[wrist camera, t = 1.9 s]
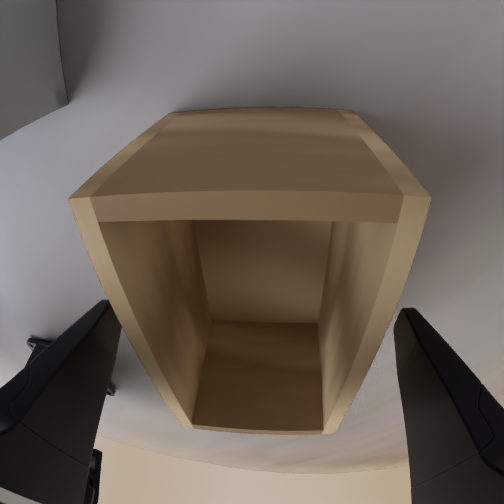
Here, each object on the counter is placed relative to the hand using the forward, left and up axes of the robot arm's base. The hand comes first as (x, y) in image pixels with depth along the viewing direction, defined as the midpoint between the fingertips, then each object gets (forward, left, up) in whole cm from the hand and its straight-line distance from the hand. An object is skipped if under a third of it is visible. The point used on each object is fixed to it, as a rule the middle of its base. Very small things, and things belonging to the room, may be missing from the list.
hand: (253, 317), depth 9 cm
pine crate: (0, 0, -4) cm, 4 cm away
